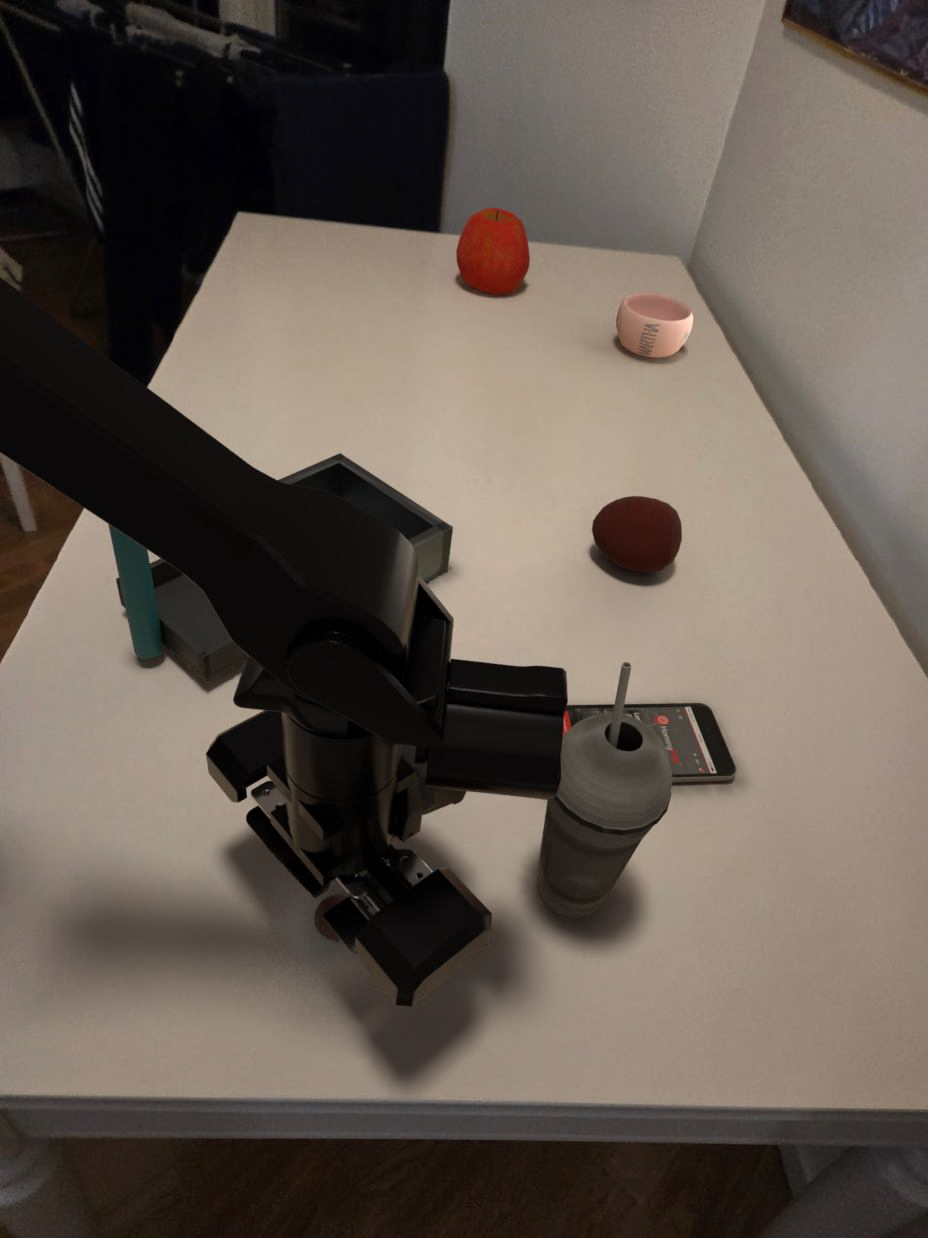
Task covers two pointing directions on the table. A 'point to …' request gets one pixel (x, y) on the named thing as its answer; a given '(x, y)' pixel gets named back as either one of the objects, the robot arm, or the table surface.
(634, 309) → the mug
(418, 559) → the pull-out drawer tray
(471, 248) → the apple
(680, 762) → the smartphone
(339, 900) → the chocolate truffle
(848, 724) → the table surface
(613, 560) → the potato
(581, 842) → the beverage cup
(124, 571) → the black compartment tray
